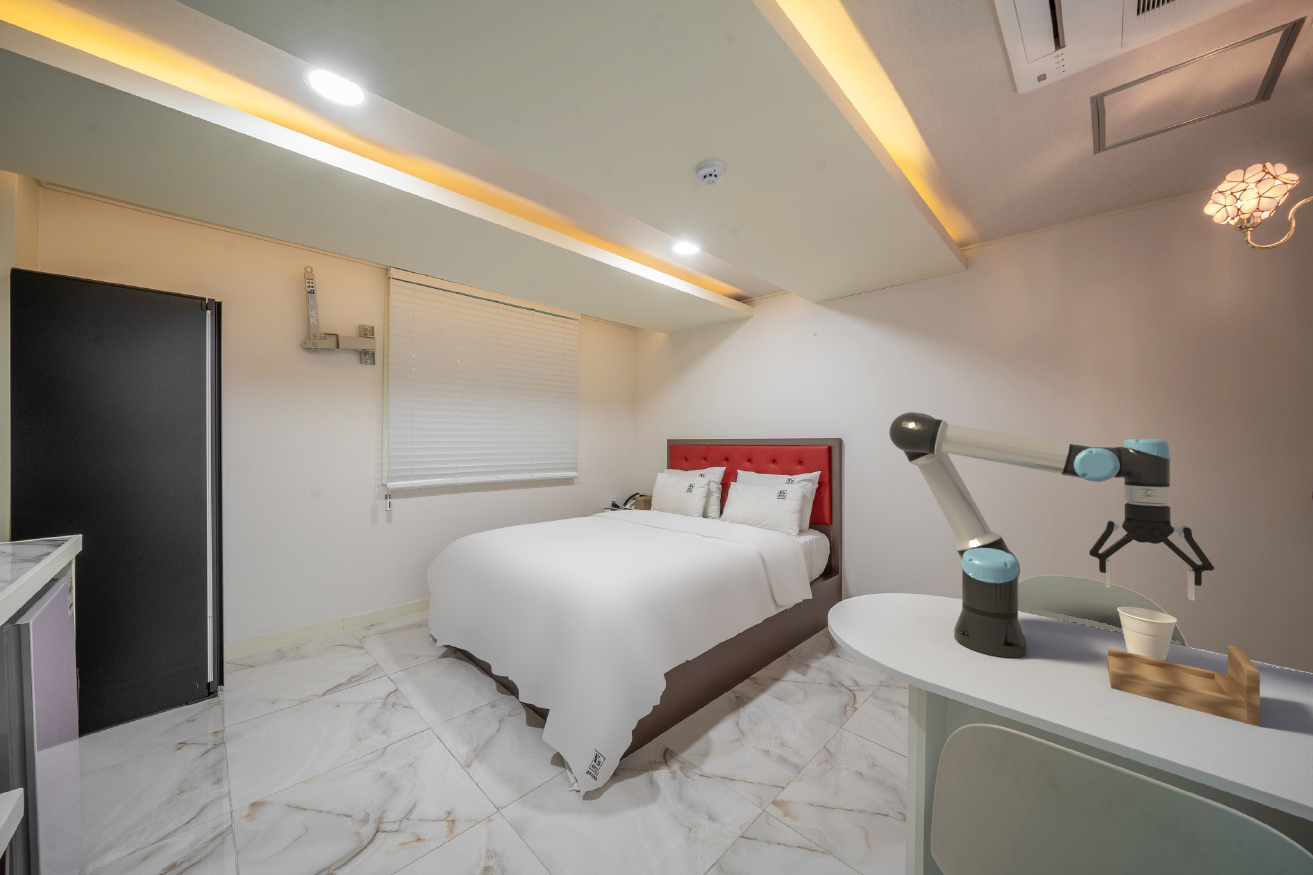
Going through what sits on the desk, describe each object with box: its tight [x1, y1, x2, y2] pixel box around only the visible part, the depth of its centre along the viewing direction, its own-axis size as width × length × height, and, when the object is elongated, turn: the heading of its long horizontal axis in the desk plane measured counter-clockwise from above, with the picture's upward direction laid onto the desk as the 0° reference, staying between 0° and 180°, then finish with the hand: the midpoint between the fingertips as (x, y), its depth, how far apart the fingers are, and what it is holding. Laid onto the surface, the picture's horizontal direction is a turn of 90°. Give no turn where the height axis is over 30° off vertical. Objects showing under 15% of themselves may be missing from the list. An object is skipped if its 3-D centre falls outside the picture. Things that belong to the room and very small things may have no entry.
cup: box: [1116, 606, 1178, 661], centre depth 110 cm, size 10×10×11 cm
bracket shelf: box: [1106, 644, 1261, 727], centre depth 97 cm, size 20×14×10 cm
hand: (1147, 592), depth 110 cm, fingers open, 13 cm apart
